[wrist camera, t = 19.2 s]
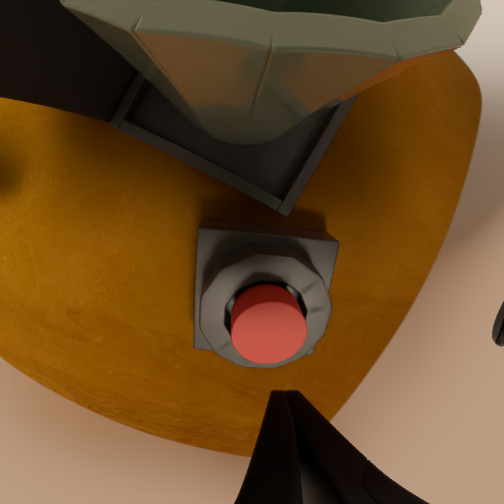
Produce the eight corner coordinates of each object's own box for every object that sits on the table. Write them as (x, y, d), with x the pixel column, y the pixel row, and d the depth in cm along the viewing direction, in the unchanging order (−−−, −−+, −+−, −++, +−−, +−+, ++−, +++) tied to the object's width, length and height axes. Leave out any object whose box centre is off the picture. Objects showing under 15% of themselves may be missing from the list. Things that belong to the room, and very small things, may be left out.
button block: (326, 231, 16) (354, 252, 12) (304, 335, 18) (320, 374, 14) (202, 218, 15) (192, 236, 11) (197, 328, 17) (189, 369, 13)
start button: (304, 286, 13) (314, 303, 11) (292, 343, 13) (299, 364, 12) (234, 280, 12) (234, 298, 11) (228, 340, 13) (228, 362, 11)
